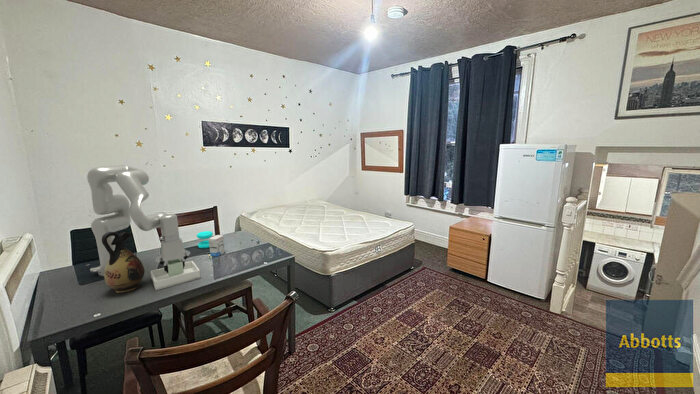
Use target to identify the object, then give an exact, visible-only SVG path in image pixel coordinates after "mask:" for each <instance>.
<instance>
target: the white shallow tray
mask: <svg viewBox="0 0 700 394" xmlns="http://www.w3.org/2000/svg"><path fill="white" fill-rule="evenodd" d="M183 271H184V273H180V274H176V275H173V276H169V275H168V273H167V272H166V271H165V270H164V267H162V268H158V269H154V270H153V269H152V270H150V272H149V273H150V279H151V281H152V282H151V283H152V285H153V287H154V291H159V290H163V289H166V288H169V287H173V286H177V285H182V284H185V283H188V282H192V281H195V280H199V279H201V270H200V269H199V267H198V266H197V265H196V263H195V262H194V261H193V260H190V261H185V266H184V269H183Z"/></svg>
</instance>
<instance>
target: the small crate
mask: <svg viewBox="0 0 700 394" xmlns="http://www.w3.org/2000/svg"><path fill="white" fill-rule="evenodd" d="M167 266H168V275H169V276H173V275H176V274H180V273H184V271H183V262H182V261H181V258H179V259H175V260H170V261H168V262H167Z"/></svg>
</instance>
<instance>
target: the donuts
mask: <svg viewBox="0 0 700 394" xmlns="http://www.w3.org/2000/svg"><path fill="white" fill-rule="evenodd" d="M213 235H214V232H212V231H210V230H206V231H205V230H204V231H200V232H198V233H196V238H197V239H200V240H202V241H199V242H198V243H197V247H198V248H199V249H208V248H209V249H210V247H209V238H211V237H213Z"/></svg>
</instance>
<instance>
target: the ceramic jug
mask: <svg viewBox="0 0 700 394" xmlns="http://www.w3.org/2000/svg"><path fill="white" fill-rule="evenodd" d="M110 236H115V238H114V239H113V241H112V243H111V245H115V250H114V251H113V250H112V249H111V247H110V246H109V244H108V242H107V238H108V237H110ZM132 237H133V234H132V233H129V232H126V231H124V232H123V231H121V232H120V233H118V232H117V231H116V232H107V233H105V234H104V235H103V236H102V244H103V245H104V246H105V248H106V250H107V252H109V254H110V259H109V260H108V262H107V264H106V267H105V271H104V276H103V278H104V282H105V284H106V286H108V287H109V288H111V289H112V290H114V291H115V293H117V294H119V293H127V292H132V291H134V290H136V289H138V288H139V287H140V284H141V281H142V280H143V278H144V276H145V266H144V265H143V263H142V261H141V259H140V258H139V257H138V256H137V255H136V254H135V253H133V252H132V251H131V250H129V249H128V248H127V247H126V246H125V244H124V243H125V242H126V241H128V240H129V239H131V238H132Z"/></svg>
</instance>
